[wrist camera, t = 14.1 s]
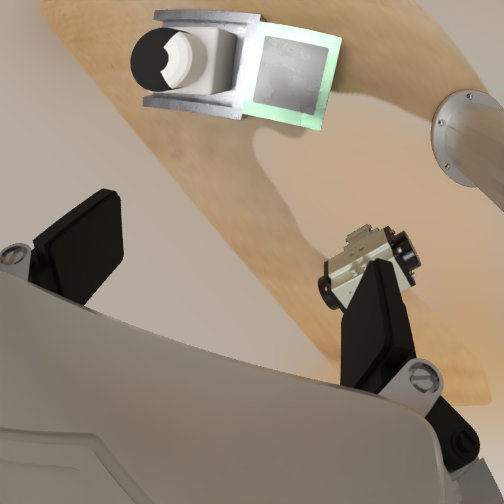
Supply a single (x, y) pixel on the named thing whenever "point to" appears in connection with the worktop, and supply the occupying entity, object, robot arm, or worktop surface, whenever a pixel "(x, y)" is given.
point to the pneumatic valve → (366, 263)
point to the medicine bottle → (184, 60)
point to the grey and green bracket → (261, 70)
